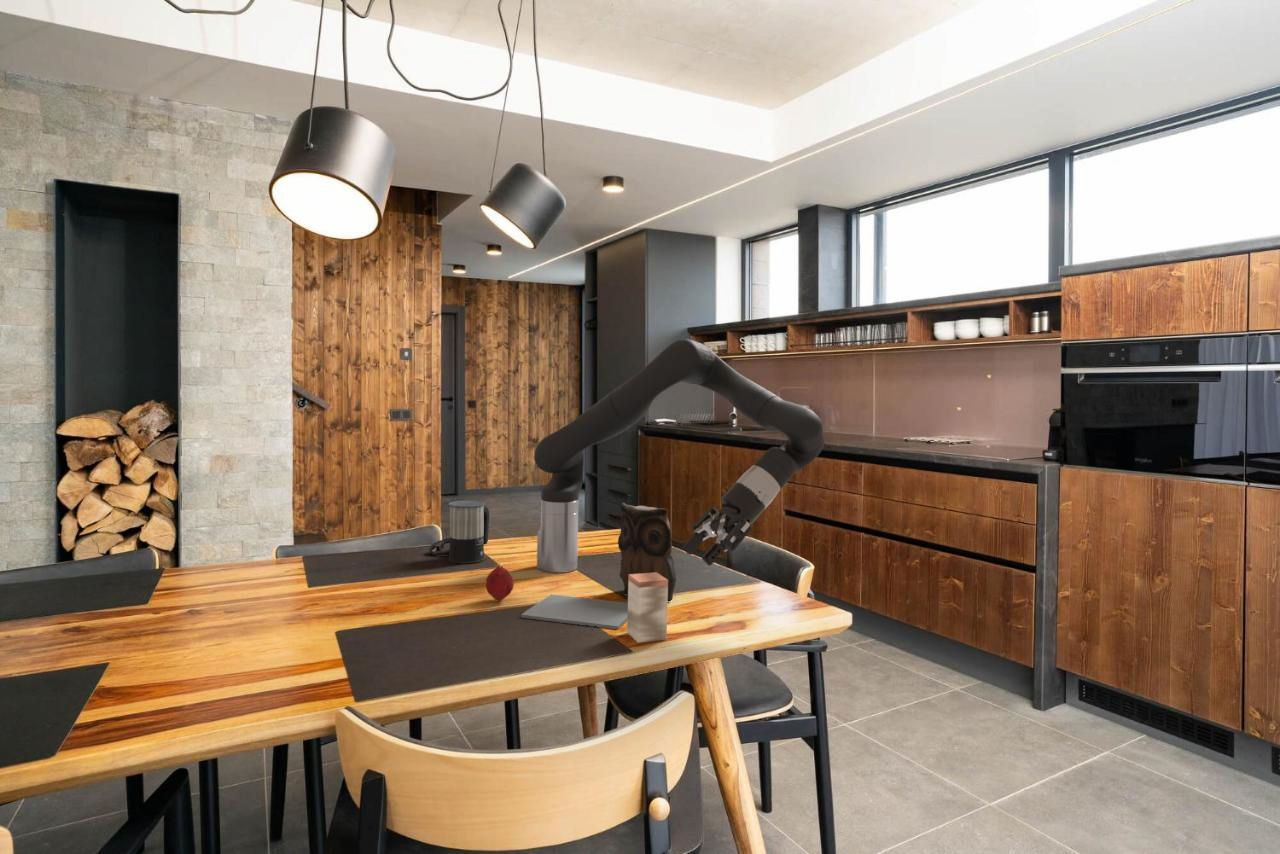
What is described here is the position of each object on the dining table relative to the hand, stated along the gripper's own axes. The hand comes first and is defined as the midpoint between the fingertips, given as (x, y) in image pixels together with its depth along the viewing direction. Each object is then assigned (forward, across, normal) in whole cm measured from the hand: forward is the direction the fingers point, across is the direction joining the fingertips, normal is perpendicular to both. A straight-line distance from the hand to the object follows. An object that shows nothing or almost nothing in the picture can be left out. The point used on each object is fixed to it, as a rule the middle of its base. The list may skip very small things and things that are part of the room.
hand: (695, 556), depth 140 cm
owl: (+9, -25, +12) cm, 29 cm away
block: (+17, 0, +3) cm, 17 cm away
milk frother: (+35, -71, -14) cm, 80 cm away
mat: (+22, -17, -2) cm, 28 cm away
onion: (+32, -29, -12) cm, 45 cm away
